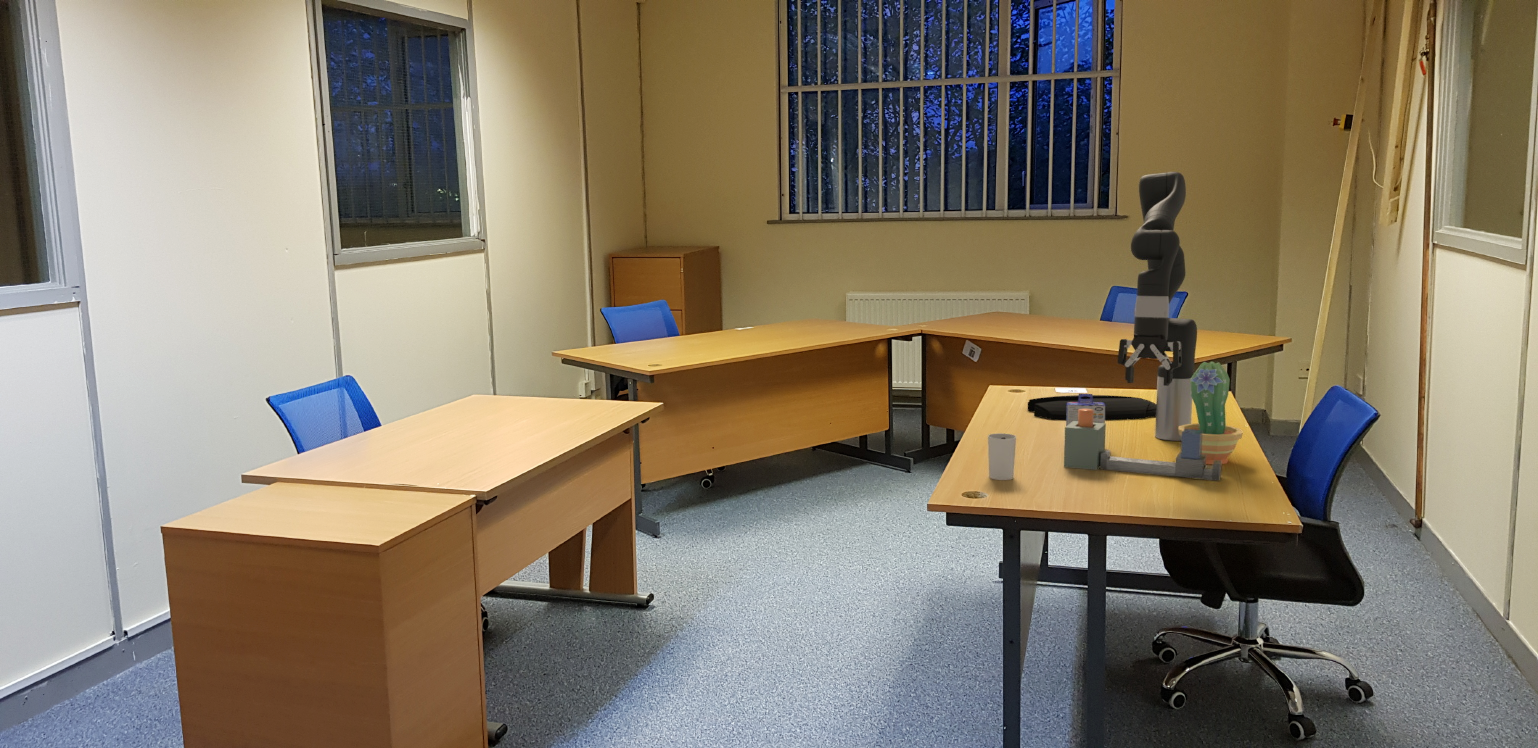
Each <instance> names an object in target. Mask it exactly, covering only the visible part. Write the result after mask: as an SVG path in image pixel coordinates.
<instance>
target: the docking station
mask: <svg viewBox="0 0 1538 748" xmlns="http://www.w3.org/2000/svg"><path fill="white" fill-rule="evenodd" d="M1092 396H1093V402H1103V403H1104V404H1105V421H1123V420H1126V421H1128V420H1127V419H1130V420H1143V419H1144V420H1145V419H1146V418H1154V417H1155V418H1156V403H1155V402H1153V401H1151V400H1148V399H1145V398H1141V397H1135V396H1125V395H1124V396H1123V395H1107V394H1106V395H1103V394H1092ZM1078 399H1079V394H1077V395H1075V394H1073V395H1057V396H1056V395H1055V396H1048V397H1047V396H1046V397H1045V396H1044V397H1038V398H1031V399H1028V402H1027V411H1028V412H1033V416H1034V417H1039V418H1043V419H1048V420H1052V421H1053V420H1054V421H1066V413H1067V402H1078ZM1081 399H1090V397H1088V396H1084V397H1081Z"/></svg>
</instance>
